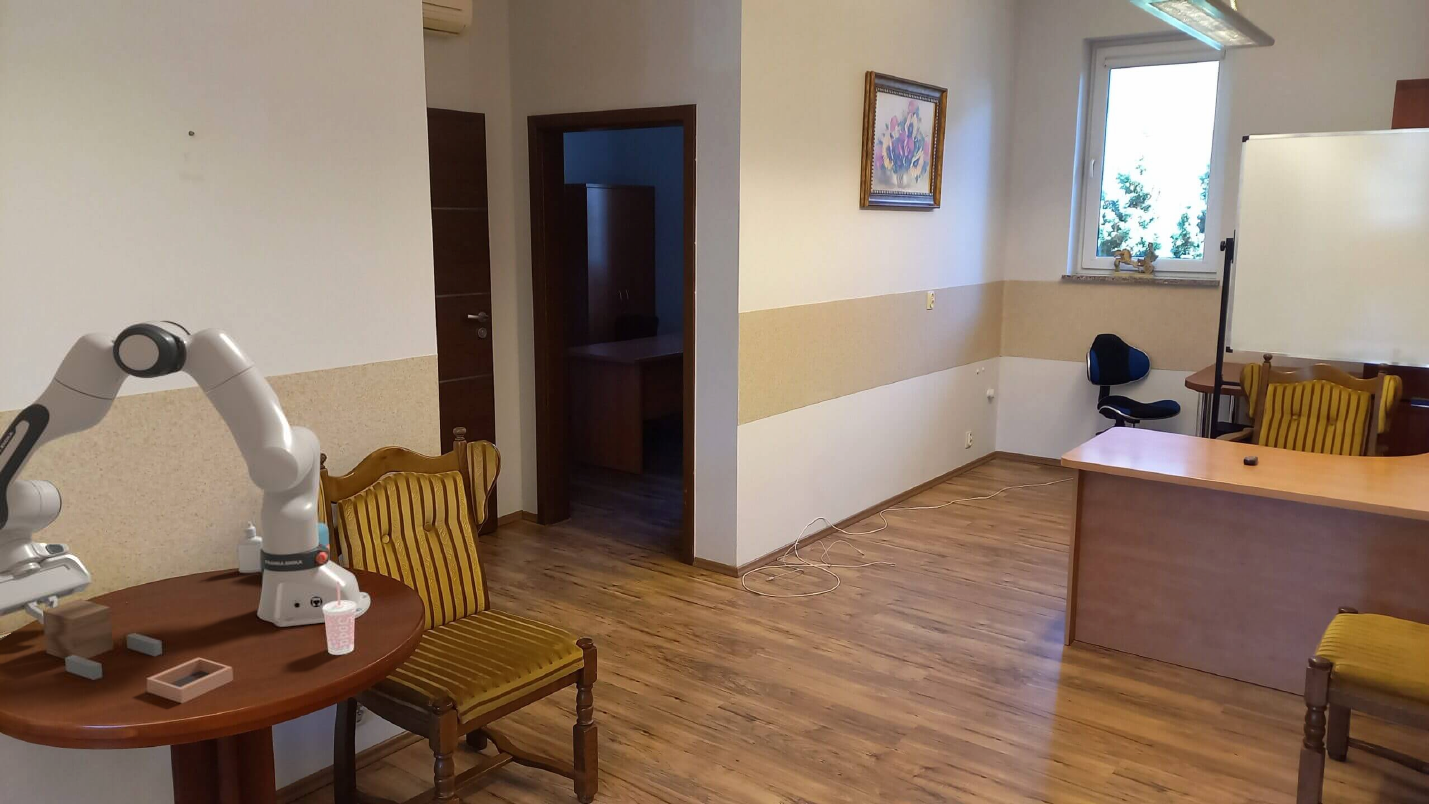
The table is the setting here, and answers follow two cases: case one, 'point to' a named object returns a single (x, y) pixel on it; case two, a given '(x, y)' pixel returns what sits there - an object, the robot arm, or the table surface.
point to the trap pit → (189, 680)
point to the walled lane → (95, 669)
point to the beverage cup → (340, 625)
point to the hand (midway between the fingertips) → (51, 620)
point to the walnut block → (78, 629)
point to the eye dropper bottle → (249, 551)
